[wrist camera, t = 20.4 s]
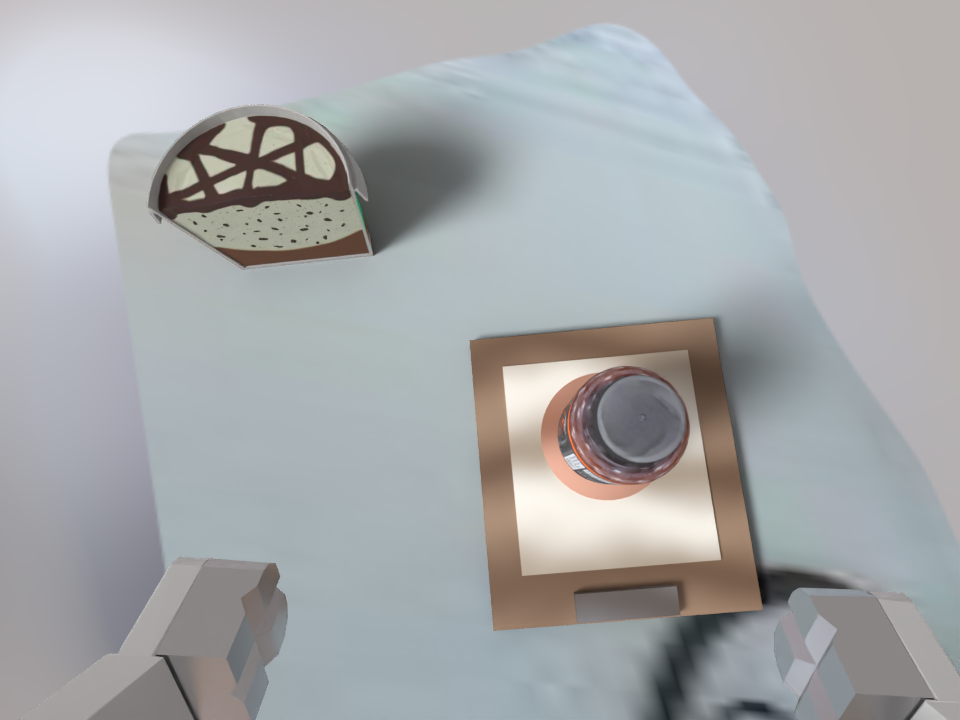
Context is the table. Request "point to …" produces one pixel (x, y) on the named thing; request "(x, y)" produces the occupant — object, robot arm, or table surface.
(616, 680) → the table surface
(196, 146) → the food container
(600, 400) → the supplement bottle
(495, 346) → the clipboard
